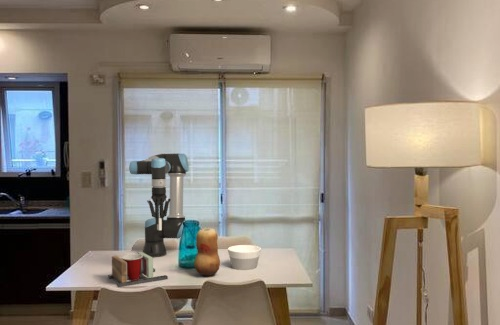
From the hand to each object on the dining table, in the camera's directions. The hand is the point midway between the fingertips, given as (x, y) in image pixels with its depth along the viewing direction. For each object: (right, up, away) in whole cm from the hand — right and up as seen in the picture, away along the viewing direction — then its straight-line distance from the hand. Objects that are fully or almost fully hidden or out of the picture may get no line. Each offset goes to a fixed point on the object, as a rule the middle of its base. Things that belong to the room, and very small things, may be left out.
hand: (159, 229), depth 256 cm
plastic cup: (-10, -24, -12) cm, 28 cm away
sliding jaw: (-6, -22, -9) cm, 24 cm away
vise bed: (-9, -24, -11) cm, 28 cm away
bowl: (+46, -23, +12) cm, 53 cm away
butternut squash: (+27, -24, -6) cm, 36 cm away
